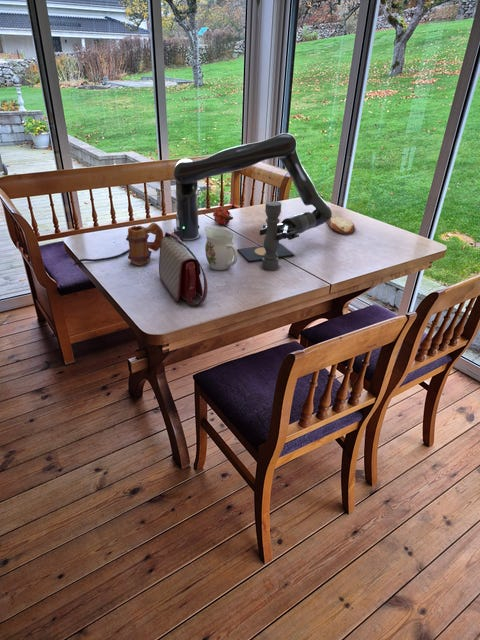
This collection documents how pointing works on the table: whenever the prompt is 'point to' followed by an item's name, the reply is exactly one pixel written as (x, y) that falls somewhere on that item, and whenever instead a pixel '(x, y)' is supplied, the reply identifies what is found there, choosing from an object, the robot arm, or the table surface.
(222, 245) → the pitcher
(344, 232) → the bread slice
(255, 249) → the placemat
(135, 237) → the mug
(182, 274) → the handbag
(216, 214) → the dragon fruit
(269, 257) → the candle holder
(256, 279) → the table surface
